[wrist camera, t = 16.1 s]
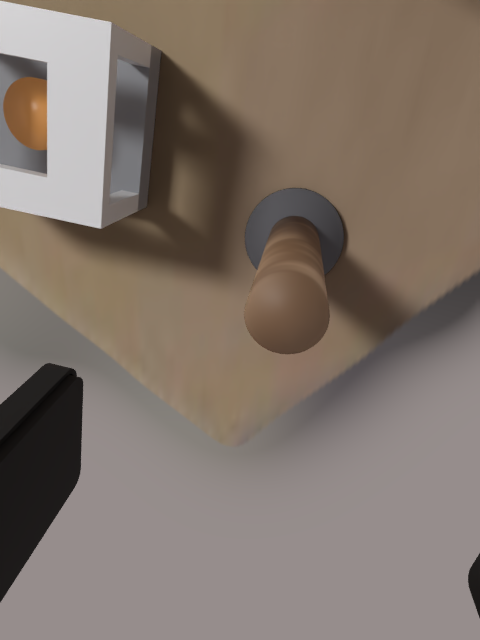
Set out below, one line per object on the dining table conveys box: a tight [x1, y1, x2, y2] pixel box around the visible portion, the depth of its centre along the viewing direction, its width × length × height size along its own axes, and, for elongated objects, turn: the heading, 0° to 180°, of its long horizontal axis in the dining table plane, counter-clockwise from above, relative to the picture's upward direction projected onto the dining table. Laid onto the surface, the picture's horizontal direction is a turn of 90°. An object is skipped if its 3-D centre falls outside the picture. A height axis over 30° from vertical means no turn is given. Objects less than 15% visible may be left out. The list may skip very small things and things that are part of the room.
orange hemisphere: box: [3, 77, 47, 150], centre depth 27 cm, size 4×4×2 cm
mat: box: [245, 188, 344, 275], centre depth 31 cm, size 7×7×1 cm
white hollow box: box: [0, 1, 161, 229], centre depth 27 cm, size 12×10×8 cm
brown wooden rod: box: [244, 216, 330, 354], centre depth 25 cm, size 4×4×14 cm
